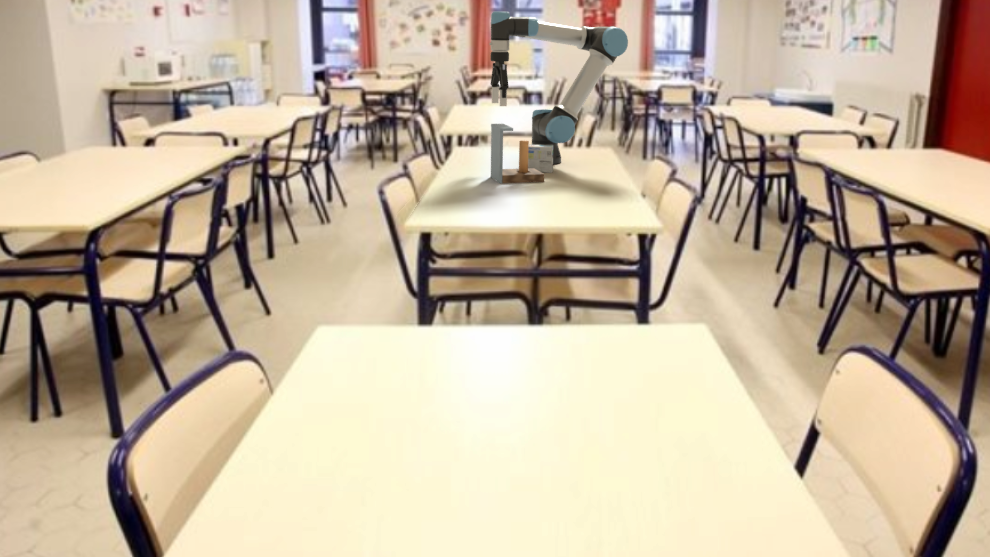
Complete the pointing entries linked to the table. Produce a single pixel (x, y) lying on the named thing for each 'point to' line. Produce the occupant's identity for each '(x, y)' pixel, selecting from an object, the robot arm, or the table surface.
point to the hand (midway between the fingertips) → (499, 104)
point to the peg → (523, 156)
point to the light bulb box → (541, 157)
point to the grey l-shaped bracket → (497, 150)
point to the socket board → (522, 176)
